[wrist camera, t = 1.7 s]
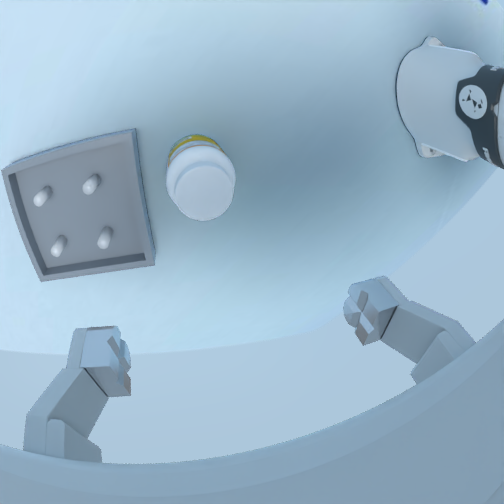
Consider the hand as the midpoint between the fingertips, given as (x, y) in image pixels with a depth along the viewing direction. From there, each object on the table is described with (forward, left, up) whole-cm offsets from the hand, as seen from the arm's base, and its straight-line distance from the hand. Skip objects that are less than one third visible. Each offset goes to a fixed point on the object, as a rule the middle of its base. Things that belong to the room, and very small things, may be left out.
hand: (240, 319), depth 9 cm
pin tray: (+13, +3, -21) cm, 25 cm away
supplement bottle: (0, 0, -21) cm, 21 cm away
